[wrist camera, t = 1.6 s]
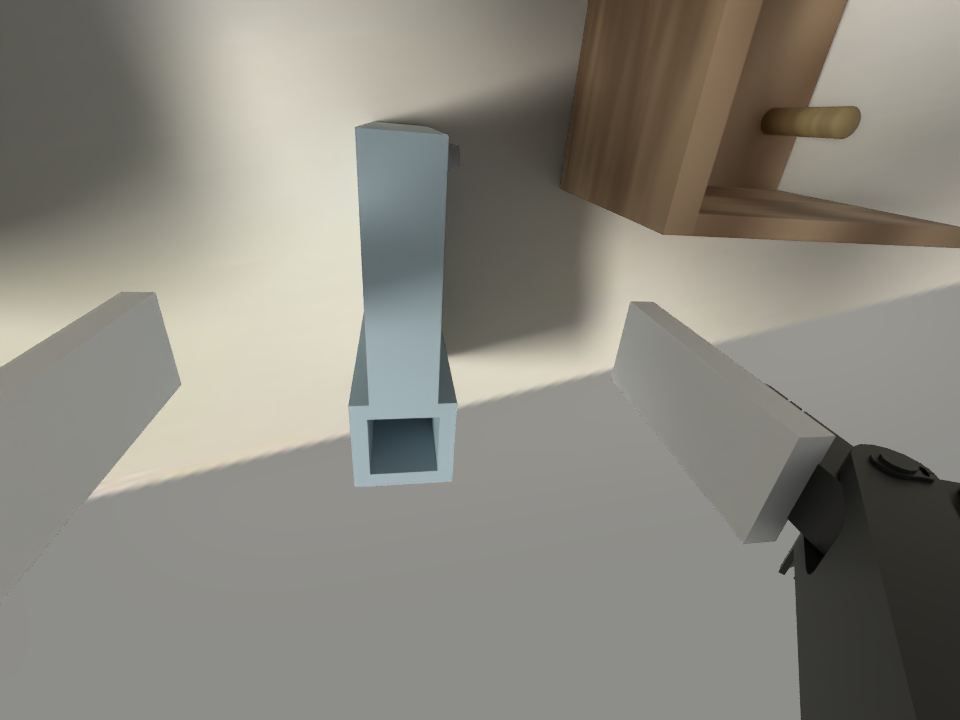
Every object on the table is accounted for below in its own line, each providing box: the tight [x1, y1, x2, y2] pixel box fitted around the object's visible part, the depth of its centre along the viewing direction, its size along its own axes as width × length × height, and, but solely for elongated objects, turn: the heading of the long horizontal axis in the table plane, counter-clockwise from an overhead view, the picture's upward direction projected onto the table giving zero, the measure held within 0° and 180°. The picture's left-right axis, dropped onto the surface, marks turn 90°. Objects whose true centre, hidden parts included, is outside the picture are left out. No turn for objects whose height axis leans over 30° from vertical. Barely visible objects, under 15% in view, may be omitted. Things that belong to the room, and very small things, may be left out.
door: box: [348, 122, 459, 487], centre depth 22 cm, size 5×14×12 cm, turn 175°
